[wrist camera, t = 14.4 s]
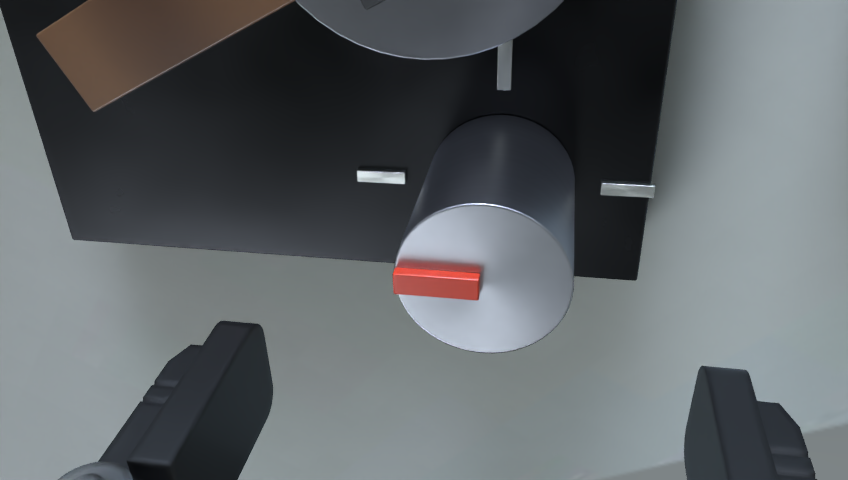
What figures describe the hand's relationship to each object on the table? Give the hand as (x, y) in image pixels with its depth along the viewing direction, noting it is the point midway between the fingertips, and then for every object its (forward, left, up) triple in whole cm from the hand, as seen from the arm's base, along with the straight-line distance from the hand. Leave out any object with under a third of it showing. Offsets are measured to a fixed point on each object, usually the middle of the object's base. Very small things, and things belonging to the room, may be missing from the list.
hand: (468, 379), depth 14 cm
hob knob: (0, 0, -8) cm, 8 cm away
